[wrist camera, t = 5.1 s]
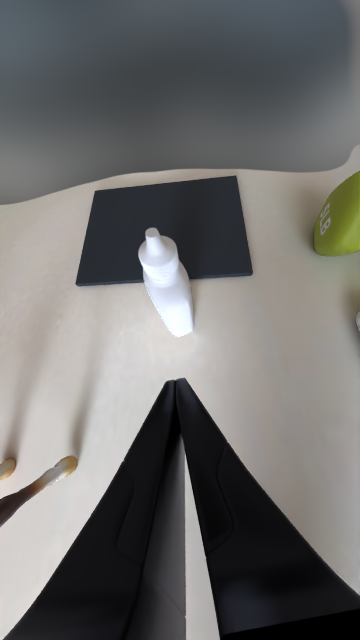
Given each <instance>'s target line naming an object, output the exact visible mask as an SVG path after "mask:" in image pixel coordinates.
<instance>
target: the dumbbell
mask: <svg viewBox="0 0 360 640" xmlns="http://www.w3.org/2000/svg"><path fill="white" fill-rule="evenodd" d="M314 246H315V250H316V252H317V253H318V254H319V255H323V256H341V255H346V254H350V253H354V252H357V251H359V250H360V171H359V172H357V173H355V174H353V175H352V176H350V177H349V178H348V179H346V180H345V181H344V182H343V183H341V184H340V185H339V186H338V187H337V188H335V189H334V190H333V192H332V193H331V194H330V195H329V197H328V199H327V200H326V202H325V204H324V206H323V208H322V210H321V213H320V215H319V217H318V219H317V222H316V224H315V228H314Z"/></svg>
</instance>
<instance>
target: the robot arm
mask: <svg viewBox="0 0 360 640" xmlns="http://www.w3.org/2000/svg"><path fill="white" fill-rule="evenodd" d="M185 454H186V459H187V464H188V469H189V474H190V479H191V485H192V490H193V495H194V500H195V505H196V510H197V515H198V521H199V526H200V531H201V536H202V541H203V546H204V551H205V555H206V562H207V567H208V572H209V577H210V583H211V588H212V594H213V600H214V605H215V611H216V617H217V623H218V630H219V636H220V640H360V595H358V594H357V593H356V592H355V591H354V590H353V589H352V588H351V587H350V586H348V585H347V584H346V583H345V582H344V581H343V580H342V579H341V578H340V577H339V576H338V575H337V574H336V573H335V572H334V571H333V570H332V569H331V568H330V567H329V566H328V564H327V563H326V562H325V561H324V560H323V559H322V558H321V557H320V556H319V555H318V554H317V552H316V551H315V550H314V549H313V548H312V547H311V546H310V544H309V543H308V542H307V541H306V540H305V539H304V538H303V536H302V535H301V534H300V533H299V532H298V530H297V529H296V528H295V527H294V526H293V524H292V523H291V522H290V521H289V520H288V518H287V517H286V516H285V515H284V514H283V512H282V511H281V510H280V509H279V508H278V506H277V505H276V504H275V503H274V502H273V501H272V499H271V498H270V497H269V496H268V495H267V493H266V492H265V491H264V490H263V489H262V487H261V486H260V485H259V484H258V482H257V481H256V480H255V479H254V477H253V476H252V475H251V474H250V472H249V471H248V470H247V468H246V467H245V466H244V464H243V463H242V461H241V460H240V459H239V457H238V456H237V454H236V453H235V452H234V450H233V449H232V447H231V446H230V444H229V443H228V442H227V440H226V438H225V437H224V435H223V434H222V432H221V431H220V429H219V428H218V426H217V425H216V423H215V422H214V420H213V419H212V417H211V416H210V414H209V413H208V411H207V410H206V408H205V407H204V405H203V404H202V402H201V401H200V399H199V398H198V396H197V395H196V393H195V392H194V390H193V389H192V387H191V386H190V385H189V383H188V382H187V380H186V379H185V378H180V379H176V380H170V381H166V382H165V384H164V386H163V388H162V390H161V392H160V393H159V395H158V397H157V399H156V401H155V403H154V405H153V406H152V408H151V410H150V412H149V414H148V416H147V417H146V419H145V421H144V423H143V425H142V427H141V428H140V430H139V432H138V434H137V436H136V438H135V440H134V441H133V443H132V445H131V447H130V449H129V451H128V452H127V454H126V456H125V458H124V461H123V462H122V463H121V465H120V467H119V469H118V471H117V473H116V474H115V476H114V478H113V480H112V481H111V483H110V485H109V487H108V488H107V490H106V492H105V494H104V495H103V497H102V498H101V500H100V502H99V503H98V505H97V506H96V508H95V510H94V511H93V513H92V514H91V516H90V518H89V519H88V521H87V522H86V524H85V525H84V527H83V528H82V530H81V532H80V533H79V535H78V536H77V538H76V539H75V541H74V542H73V544H72V545H71V547H70V549H69V550H68V552H67V553H66V555H65V556H64V558H63V559H62V561H61V562H60V564H59V566H58V567H57V569H56V570H55V572H54V573H53V575H52V576H51V578H50V579H49V581H48V583H47V584H46V585H45V587H44V588H43V590H42V591H41V593H40V594H39V596H38V597H37V598H36V600H35V601H34V603H33V604H32V605H31V607H30V608H29V609H28V610H27V612H26V613H25V614H24V616H23V617H22V618H21V619H20V621H19V622H18V623H17V624H16V625H15V626H14V628H13V629H12V630H11V631H10V632H9V633H8V635H7V636H6V637H5V638H4V639H3V640H186V618H185V616H186V580H185Z"/></svg>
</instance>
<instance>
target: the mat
mask: <svg viewBox="0 0 360 640" xmlns="http://www.w3.org/2000/svg"><path fill="white" fill-rule="evenodd" d="M149 228H156V229H157V230H158V232H159V234H160V236H166V237H168V238H170V239H171V240H173V241H174V242H175V244H176V247H177V252H178V258H179V261H180V262H181V263H182V265H183V266H184V268H185V270H186V272H187V274H188V277H189V279H204V278H220V277H236V276H251V275H252V274H253V270H252V265H251V259H250V253H249V247H248V241H247V235H246V230H245V224H244V218H243V212H242V206H241V201H240V195H239V189H238V183H237V177H236V176H227V177H218V178H209V179H199V180H190V181H181V182H172V183H162V184H153V185H144V186H135V187H125V188H116V189H107V190H98V191H95V193H94V198H93V203H92V208H91V212H90V217H89V222H88V227H87V231H86V236H85V241H84V246H83V250H82V255H81V260H80V264H79V269H78V274H77V279H76V283H75V284H76V285H77V286H90V285H106V284H122V283H139V282H144V278H143V266H142V264H141V262H140V259H139V256H138V255H139V254H138V253H139V252H138V251H139V248H140V246H141V245H142V243H143V242H144V241H145V240H146V235H145V232H146V230H147V229H149Z"/></svg>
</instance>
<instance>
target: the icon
mask: <svg viewBox="0 0 360 640" xmlns="http://www.w3.org/2000/svg"><path fill="white" fill-rule="evenodd" d="M356 324H357V327H358V329H359V332H360V311H359V312H358V313H357V315H356Z"/></svg>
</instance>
